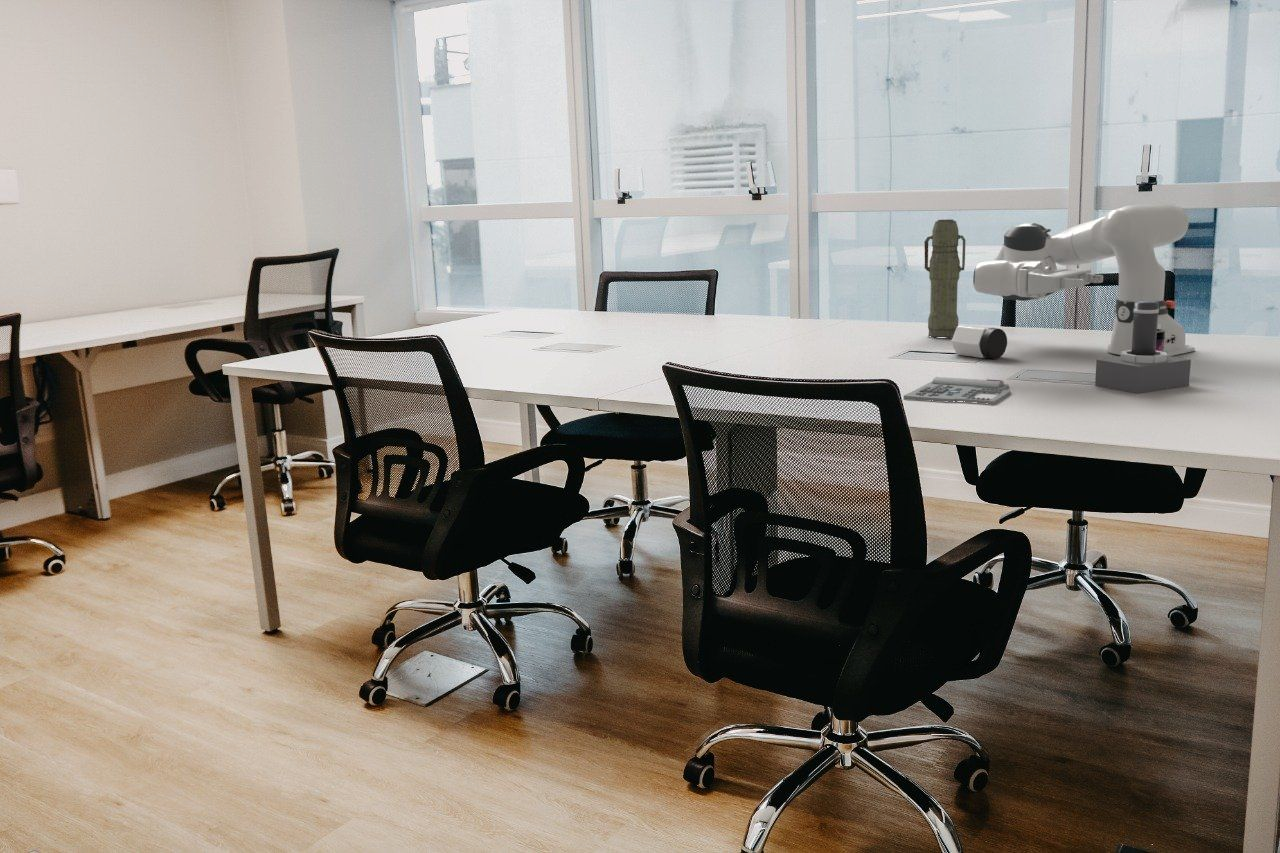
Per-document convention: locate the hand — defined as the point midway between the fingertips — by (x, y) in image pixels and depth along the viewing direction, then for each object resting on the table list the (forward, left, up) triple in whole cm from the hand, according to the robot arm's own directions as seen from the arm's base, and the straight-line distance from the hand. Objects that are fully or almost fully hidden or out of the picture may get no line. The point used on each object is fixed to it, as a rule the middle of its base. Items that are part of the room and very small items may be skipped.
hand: (1092, 281), depth 254 cm
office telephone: (+33, -5, -24) cm, 41 cm away
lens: (-5, +11, -17) cm, 21 cm away
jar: (-2, -47, -19) cm, 51 cm away
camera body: (-5, +11, -23) cm, 26 cm away
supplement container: (-18, +1, -24) cm, 30 cm away
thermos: (-19, -76, -24) cm, 82 cm away
